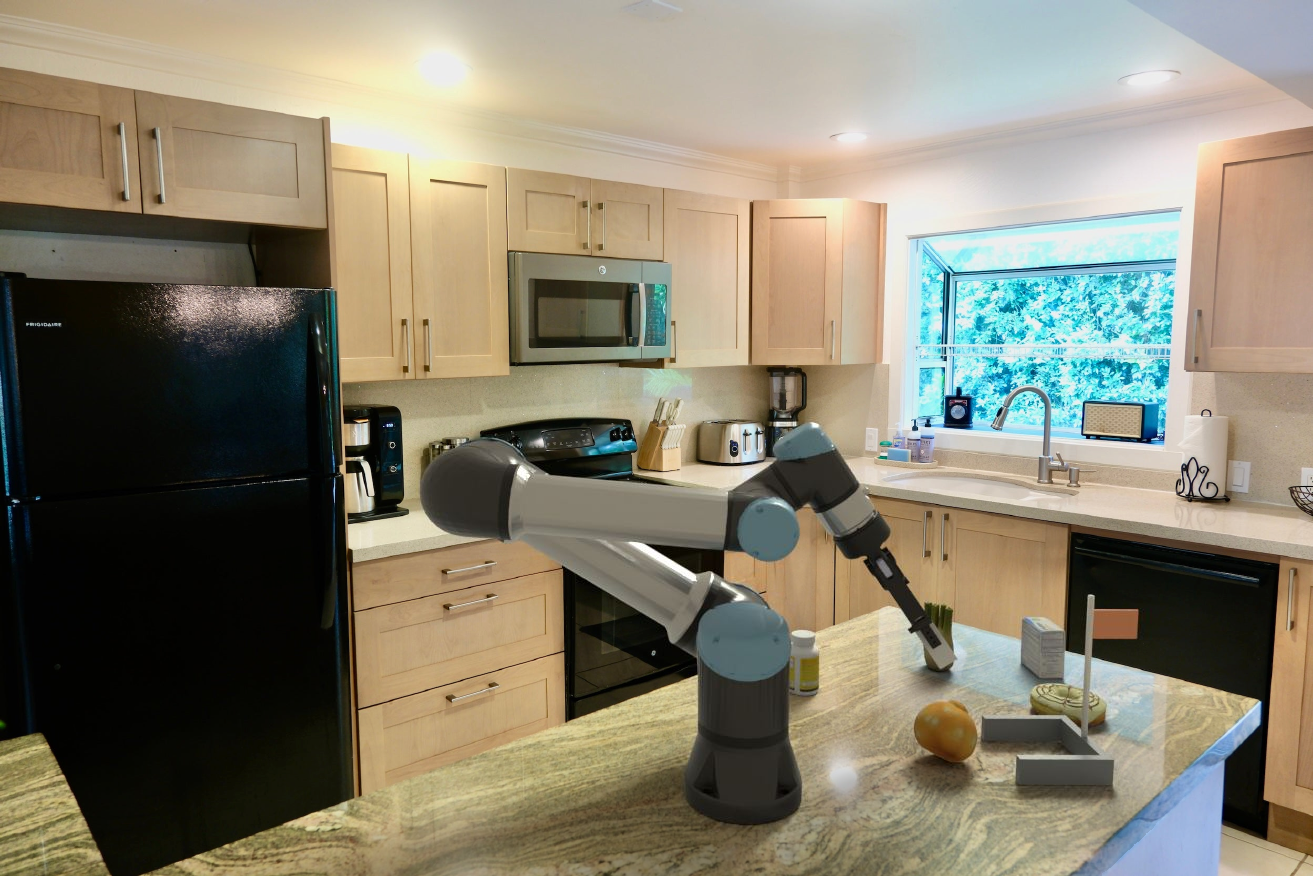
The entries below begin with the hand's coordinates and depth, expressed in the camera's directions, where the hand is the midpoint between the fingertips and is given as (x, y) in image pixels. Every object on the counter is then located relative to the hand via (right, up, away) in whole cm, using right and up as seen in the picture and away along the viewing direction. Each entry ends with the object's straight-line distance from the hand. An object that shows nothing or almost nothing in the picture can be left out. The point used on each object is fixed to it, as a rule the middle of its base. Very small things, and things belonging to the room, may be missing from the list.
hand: (935, 644), depth 118 cm
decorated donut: (+25, -14, +12) cm, 31 cm away
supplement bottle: (-15, -13, +22) cm, 29 cm away
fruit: (0, -16, -3) cm, 16 cm away
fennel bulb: (+11, -12, +31) cm, 35 cm away
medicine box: (+29, -12, +30) cm, 43 cm away
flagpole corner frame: (+17, -15, -3) cm, 23 cm away
